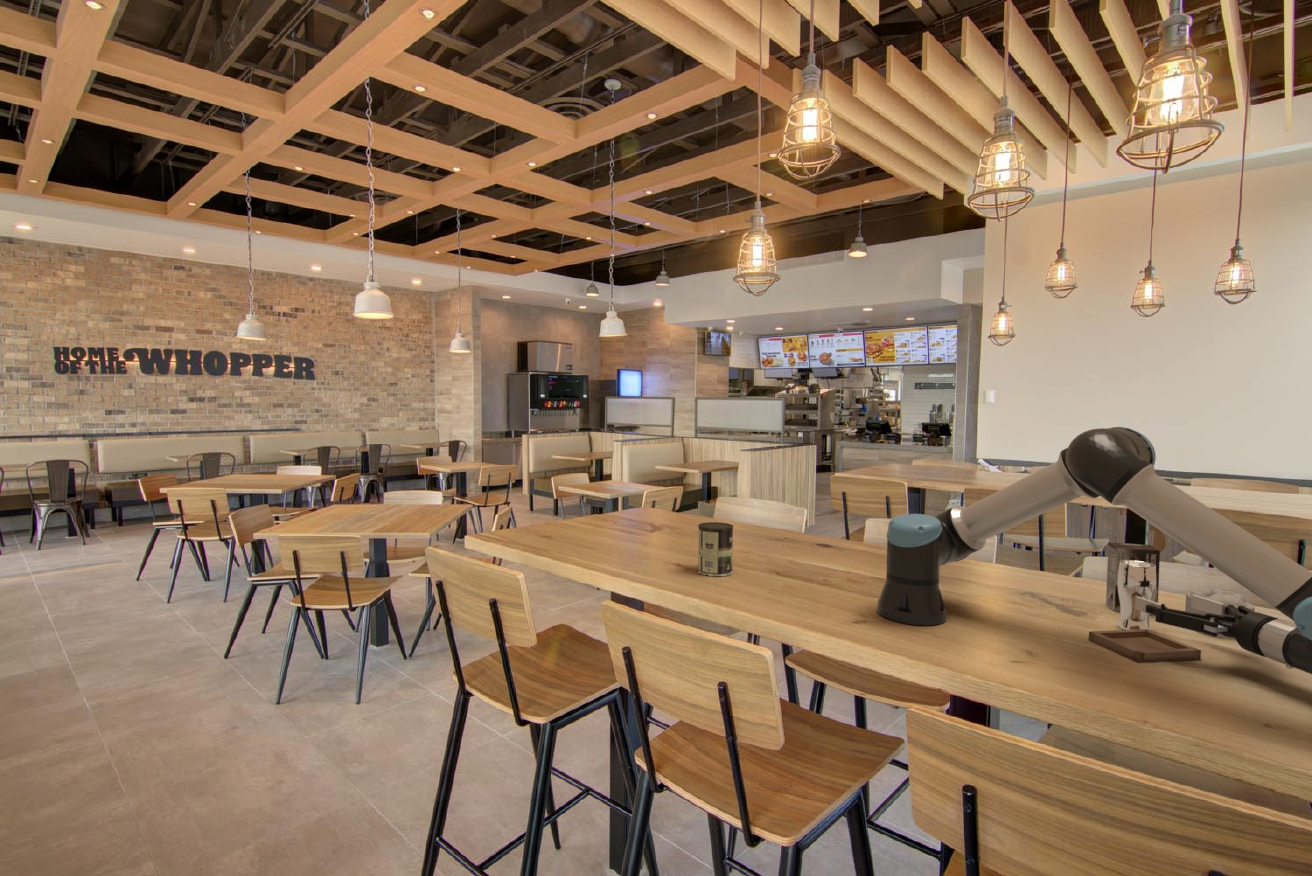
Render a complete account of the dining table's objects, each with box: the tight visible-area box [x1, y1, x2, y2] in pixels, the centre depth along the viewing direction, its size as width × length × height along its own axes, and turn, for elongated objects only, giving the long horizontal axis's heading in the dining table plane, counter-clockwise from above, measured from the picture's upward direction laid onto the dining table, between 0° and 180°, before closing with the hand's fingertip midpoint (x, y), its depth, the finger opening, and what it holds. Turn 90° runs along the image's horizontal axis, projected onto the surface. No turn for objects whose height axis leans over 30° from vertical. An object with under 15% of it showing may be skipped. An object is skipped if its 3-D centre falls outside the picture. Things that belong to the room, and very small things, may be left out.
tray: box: [1088, 629, 1202, 663], centre depth 131 cm, size 14×12×2 cm
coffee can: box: [697, 521, 734, 577], centre depth 187 cm, size 10×10×14 cm
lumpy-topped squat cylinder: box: [1184, 587, 1256, 640], centre depth 143 cm, size 10×13×9 cm
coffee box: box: [1105, 541, 1161, 613], centre depth 156 cm, size 9×6×16 cm
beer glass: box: [1117, 560, 1156, 631], centre depth 143 cm, size 7×7×15 cm
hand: (1164, 601), depth 136 cm, fingers open, 13 cm apart
